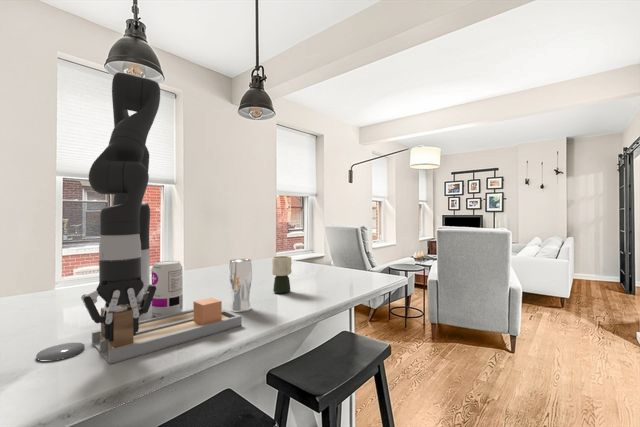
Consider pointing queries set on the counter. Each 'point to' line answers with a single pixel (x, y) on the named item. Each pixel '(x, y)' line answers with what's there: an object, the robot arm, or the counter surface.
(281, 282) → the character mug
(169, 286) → the supplement can
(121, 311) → the oak strip
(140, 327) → the oak strip
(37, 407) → the counter surface
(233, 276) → the beer glass
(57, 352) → the slate coaster
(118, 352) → the lane frame
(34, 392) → the counter surface
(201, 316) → the rust cube
